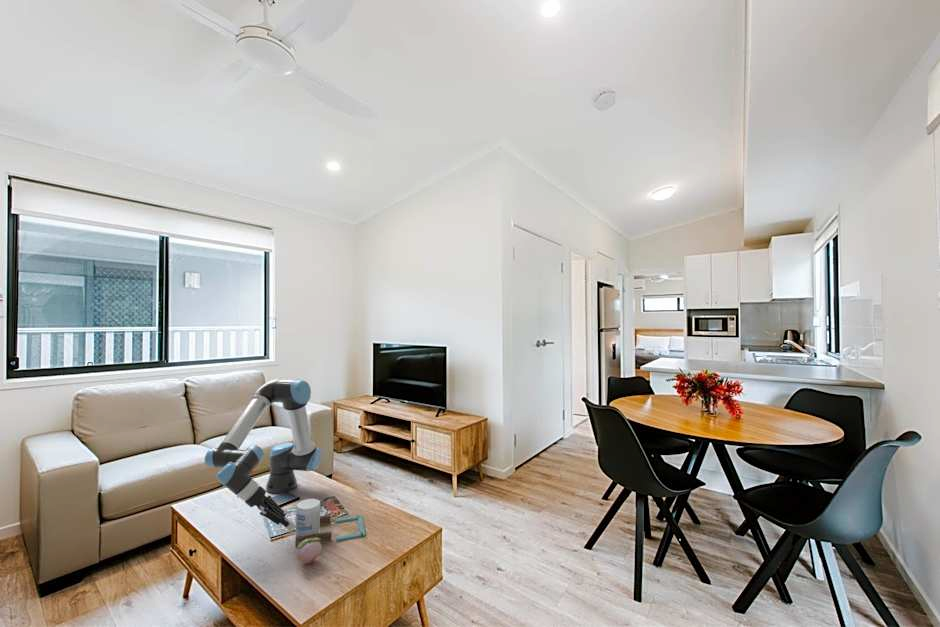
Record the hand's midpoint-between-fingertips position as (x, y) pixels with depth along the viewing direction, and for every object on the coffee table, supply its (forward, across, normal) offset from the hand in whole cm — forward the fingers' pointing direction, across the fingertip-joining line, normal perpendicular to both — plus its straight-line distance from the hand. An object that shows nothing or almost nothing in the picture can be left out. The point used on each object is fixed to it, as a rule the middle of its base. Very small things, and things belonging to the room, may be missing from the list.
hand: (293, 528), depth 165 cm
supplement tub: (+8, -1, 0) cm, 8 cm away
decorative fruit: (+9, +17, +1) cm, 19 cm away
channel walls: (+9, -3, +2) cm, 10 cm away
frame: (+19, -3, +12) cm, 23 cm away
